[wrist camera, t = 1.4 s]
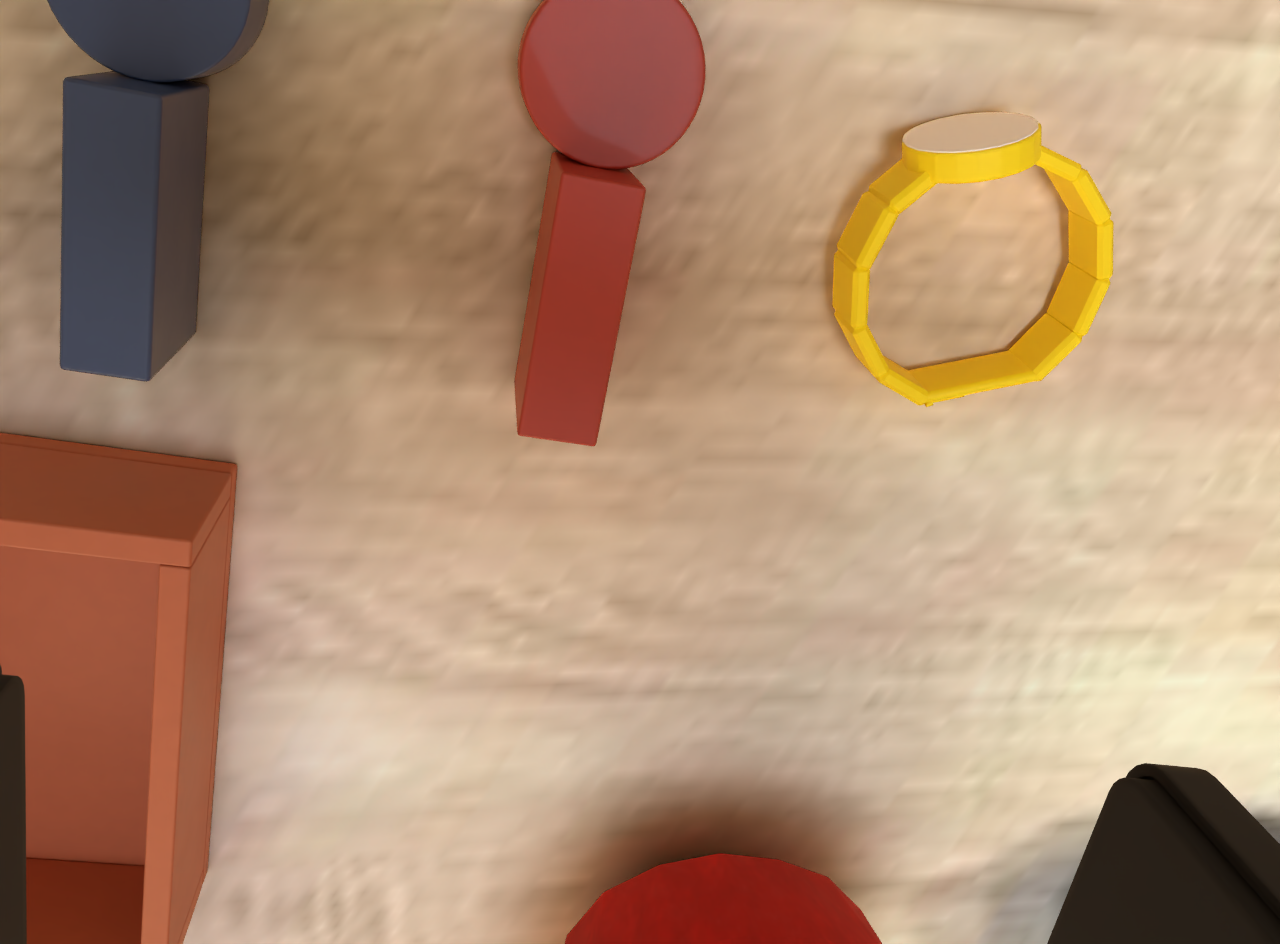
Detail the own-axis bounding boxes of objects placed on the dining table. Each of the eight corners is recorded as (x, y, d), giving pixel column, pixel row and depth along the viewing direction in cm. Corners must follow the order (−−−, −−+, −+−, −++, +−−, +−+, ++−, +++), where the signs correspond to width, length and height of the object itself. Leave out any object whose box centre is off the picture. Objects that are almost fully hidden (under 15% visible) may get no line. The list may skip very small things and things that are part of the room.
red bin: (-137, 413, 23) (-258, 487, 20) (238, 463, 25) (192, 541, 21) (-113, 849, 28) (-209, 980, 24) (207, 870, 29) (165, 997, 25)
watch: (875, 445, 24) (845, 185, 21) (834, 393, 27) (802, 152, 24) (1130, 374, 25) (1136, 107, 22) (1067, 329, 27) (1064, 82, 24)
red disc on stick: (532, -45, 22) (539, -56, 19) (707, -5, 22) (743, -10, 19) (470, 376, 25) (466, 429, 22) (625, 400, 25) (644, 454, 22)
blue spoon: (73, -149, 20) (-5, -180, 17) (277, -102, 21) (237, -125, 18) (67, 315, 23) (-1, 361, 20) (244, 342, 24) (205, 391, 21)
